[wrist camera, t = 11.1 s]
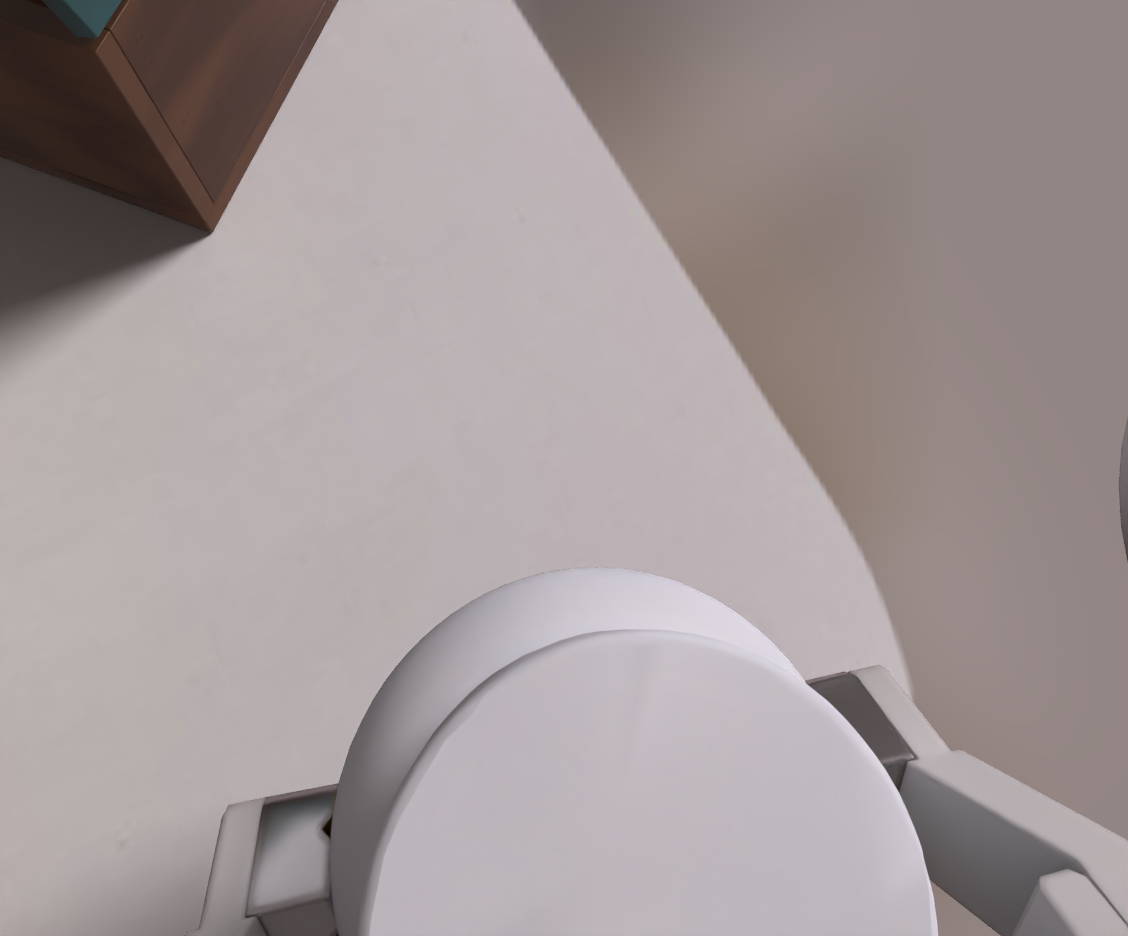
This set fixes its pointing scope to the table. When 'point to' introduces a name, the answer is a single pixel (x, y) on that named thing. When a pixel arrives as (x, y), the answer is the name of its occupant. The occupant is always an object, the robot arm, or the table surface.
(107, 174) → the wooden box
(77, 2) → the teal box lid
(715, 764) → the pill bottle
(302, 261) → the table surface
